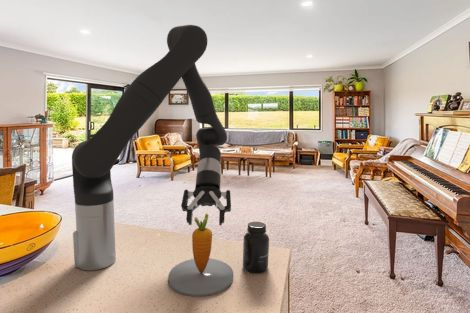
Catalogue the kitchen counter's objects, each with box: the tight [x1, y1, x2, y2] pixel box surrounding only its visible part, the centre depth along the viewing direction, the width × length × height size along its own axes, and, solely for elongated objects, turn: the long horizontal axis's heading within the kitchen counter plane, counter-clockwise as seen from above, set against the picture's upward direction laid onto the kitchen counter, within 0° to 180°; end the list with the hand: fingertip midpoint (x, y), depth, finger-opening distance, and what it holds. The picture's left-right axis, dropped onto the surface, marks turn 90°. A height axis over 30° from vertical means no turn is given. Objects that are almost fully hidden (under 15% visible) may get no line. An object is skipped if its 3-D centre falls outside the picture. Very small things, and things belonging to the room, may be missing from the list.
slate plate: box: [168, 257, 234, 297], centre depth 72 cm, size 16×16×1 cm
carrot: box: [191, 213, 213, 273], centre depth 71 cm, size 5×5×15 cm
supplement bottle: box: [242, 221, 270, 274], centre depth 76 cm, size 7×7×12 cm
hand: (205, 224), depth 80 cm, fingers open, 8 cm apart
